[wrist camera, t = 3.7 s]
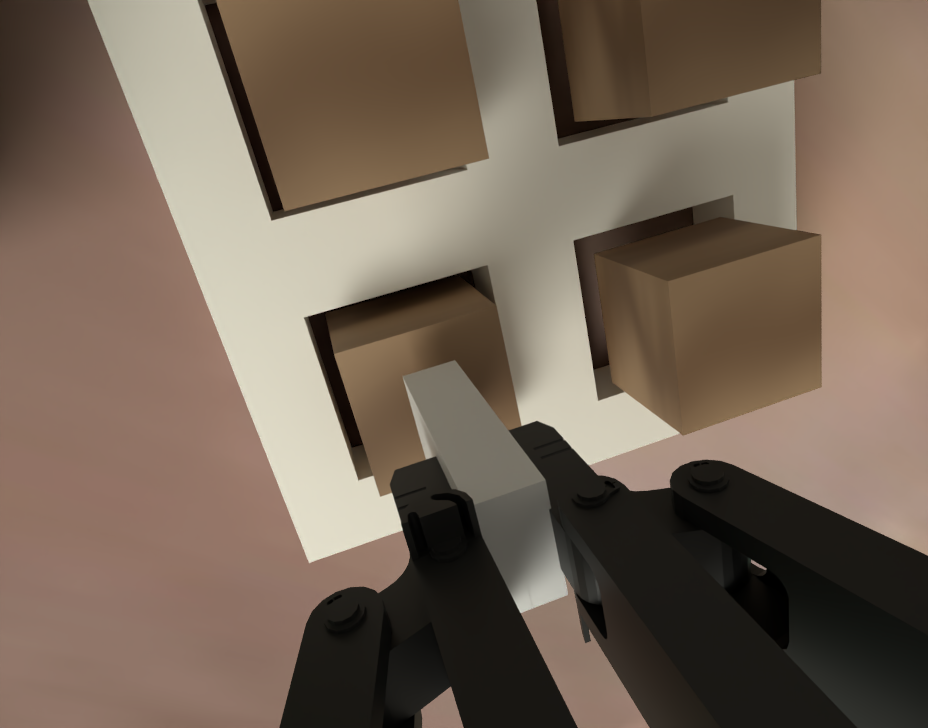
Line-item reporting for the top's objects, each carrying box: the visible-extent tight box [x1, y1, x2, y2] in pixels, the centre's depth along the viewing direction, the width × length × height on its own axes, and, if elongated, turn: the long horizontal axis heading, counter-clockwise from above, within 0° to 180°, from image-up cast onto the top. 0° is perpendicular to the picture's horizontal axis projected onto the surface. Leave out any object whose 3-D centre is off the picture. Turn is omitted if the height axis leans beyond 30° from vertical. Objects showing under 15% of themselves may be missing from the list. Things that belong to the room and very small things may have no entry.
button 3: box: [594, 217, 822, 435], centre depth 20 cm, size 5×5×4 cm
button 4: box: [558, 0, 821, 122], centre depth 17 cm, size 5×5×4 cm
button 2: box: [216, 0, 489, 211], centre depth 15 cm, size 5×5×4 cm
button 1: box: [325, 275, 522, 497], centre depth 21 cm, size 5×5×4 cm
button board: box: [87, 0, 797, 563], centre depth 21 cm, size 20×20×2 cm
